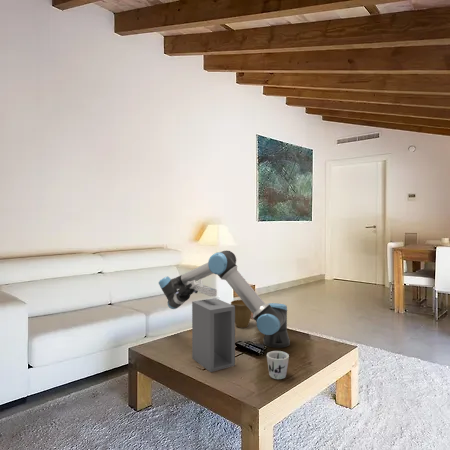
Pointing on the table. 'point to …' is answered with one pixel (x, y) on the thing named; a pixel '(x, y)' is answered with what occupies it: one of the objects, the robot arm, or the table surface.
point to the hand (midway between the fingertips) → (198, 282)
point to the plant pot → (241, 313)
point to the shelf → (213, 334)
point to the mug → (277, 364)
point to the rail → (204, 289)
